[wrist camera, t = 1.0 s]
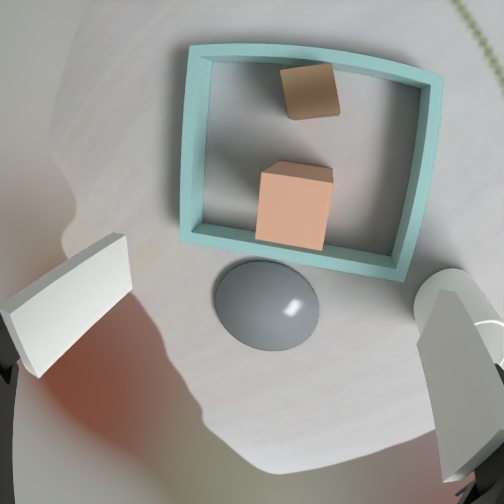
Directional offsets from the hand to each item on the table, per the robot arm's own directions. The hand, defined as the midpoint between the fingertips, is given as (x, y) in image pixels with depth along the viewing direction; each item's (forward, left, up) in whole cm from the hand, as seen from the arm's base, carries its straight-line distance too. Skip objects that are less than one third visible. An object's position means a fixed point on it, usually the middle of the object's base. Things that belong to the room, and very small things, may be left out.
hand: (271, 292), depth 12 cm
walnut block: (-9, -1, -19) cm, 21 cm away
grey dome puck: (+14, -3, -19) cm, 23 cm away
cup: (+9, +19, -19) cm, 28 cm away
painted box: (0, -1, -19) cm, 19 cm away
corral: (-4, -1, -19) cm, 19 cm away
